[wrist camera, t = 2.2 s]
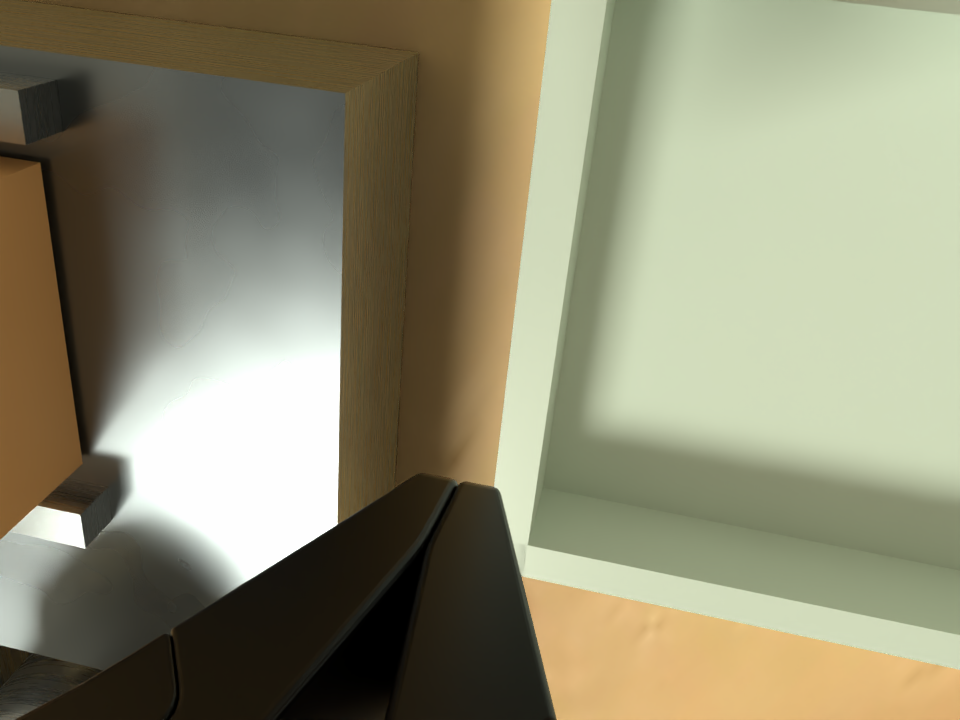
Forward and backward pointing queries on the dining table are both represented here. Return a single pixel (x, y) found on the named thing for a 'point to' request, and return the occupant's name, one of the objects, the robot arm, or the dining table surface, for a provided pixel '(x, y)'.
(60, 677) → the pin
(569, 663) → the dining table surface
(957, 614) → the tray
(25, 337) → the block
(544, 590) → the dining table surface
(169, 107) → the metallic box with opening
